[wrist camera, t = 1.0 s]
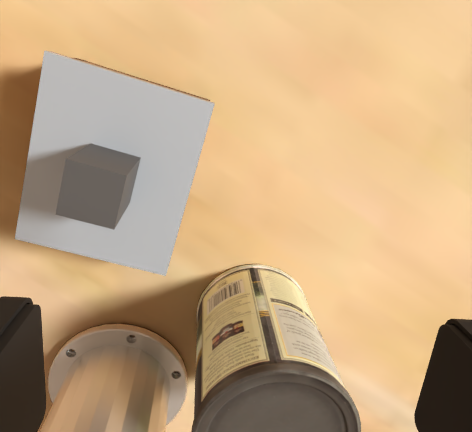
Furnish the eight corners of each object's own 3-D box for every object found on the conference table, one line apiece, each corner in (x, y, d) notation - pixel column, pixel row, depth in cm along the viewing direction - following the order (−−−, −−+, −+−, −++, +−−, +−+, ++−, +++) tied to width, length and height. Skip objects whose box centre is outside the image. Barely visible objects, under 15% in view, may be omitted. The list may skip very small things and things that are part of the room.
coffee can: (270, 376, 41) (301, 524, 27) (176, 333, 39) (159, 472, 25) (330, 293, 38) (396, 412, 25) (233, 243, 36) (248, 343, 23)
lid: (166, 269, 31) (157, 313, 25) (20, 233, 29) (-24, 272, 24) (214, 102, 27) (215, 110, 22) (50, 51, 26) (6, 45, 20)
